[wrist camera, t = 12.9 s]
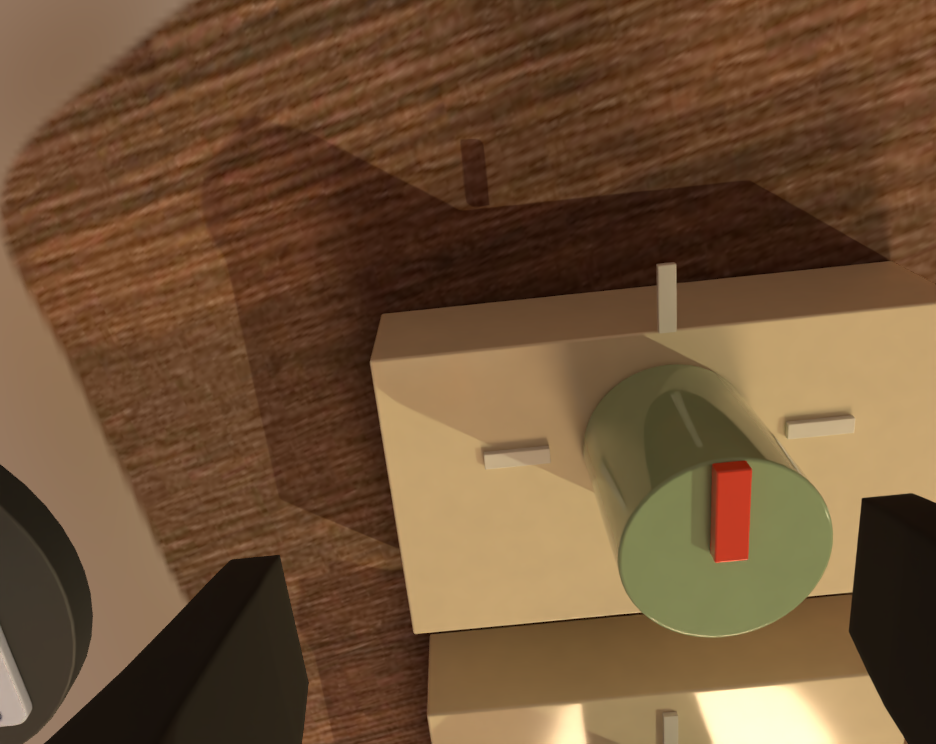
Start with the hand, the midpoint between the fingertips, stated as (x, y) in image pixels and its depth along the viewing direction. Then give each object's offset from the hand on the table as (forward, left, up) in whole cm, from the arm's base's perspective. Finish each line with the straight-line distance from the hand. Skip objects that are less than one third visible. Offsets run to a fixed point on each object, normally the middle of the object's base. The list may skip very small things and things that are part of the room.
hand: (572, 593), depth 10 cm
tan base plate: (+3, -3, -10) cm, 11 cm away
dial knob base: (+3, -12, -10) cm, 16 cm away
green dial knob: (+3, -2, -7) cm, 8 cm away
